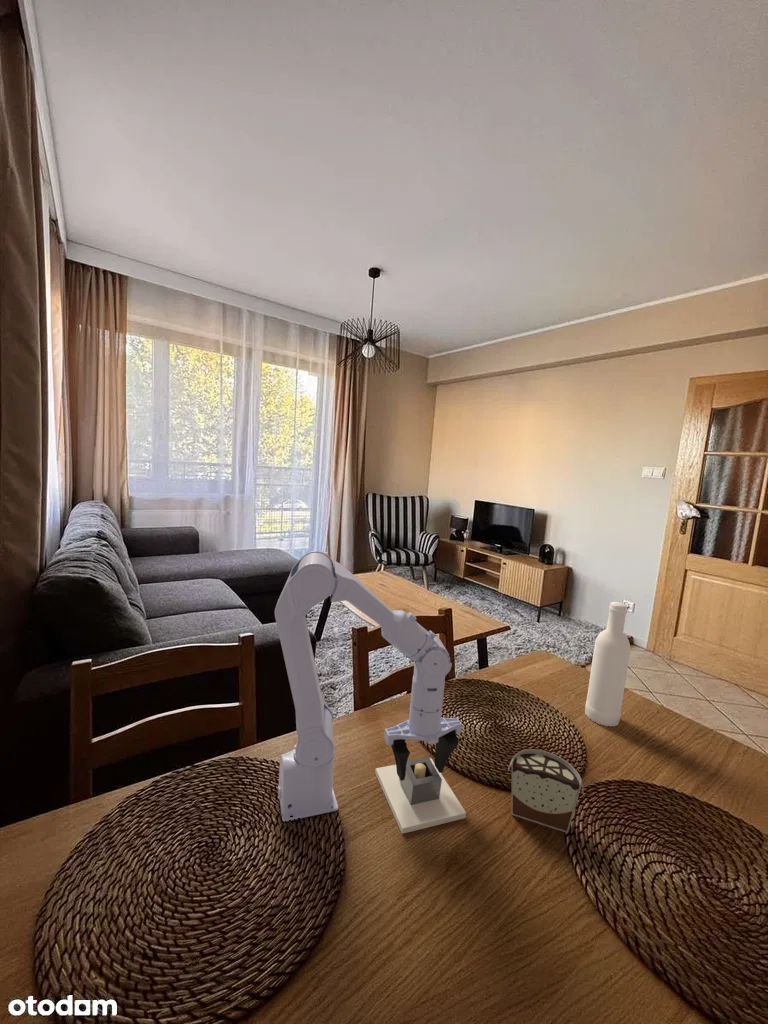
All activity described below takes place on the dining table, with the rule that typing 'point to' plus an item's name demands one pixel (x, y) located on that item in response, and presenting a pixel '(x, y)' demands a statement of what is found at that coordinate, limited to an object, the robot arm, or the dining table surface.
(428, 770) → the collar
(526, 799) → the food container
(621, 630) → the bottle
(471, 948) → the dining table surface
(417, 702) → the robot arm
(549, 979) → the dining table surface
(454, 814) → the shaft board
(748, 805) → the dining table surface
